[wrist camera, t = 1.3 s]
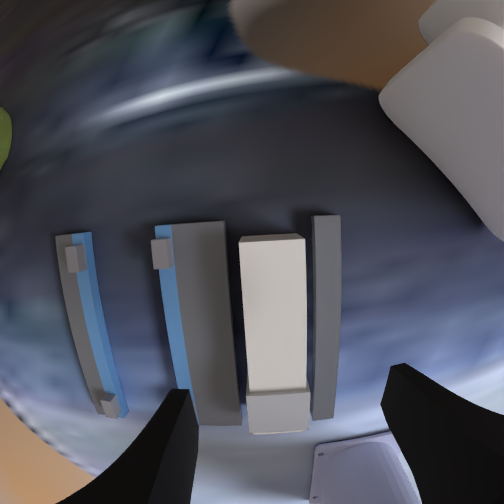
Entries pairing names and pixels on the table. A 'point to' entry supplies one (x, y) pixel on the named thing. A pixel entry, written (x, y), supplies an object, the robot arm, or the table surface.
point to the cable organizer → (458, 100)
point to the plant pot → (5, 135)
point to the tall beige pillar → (275, 332)
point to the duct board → (199, 317)
